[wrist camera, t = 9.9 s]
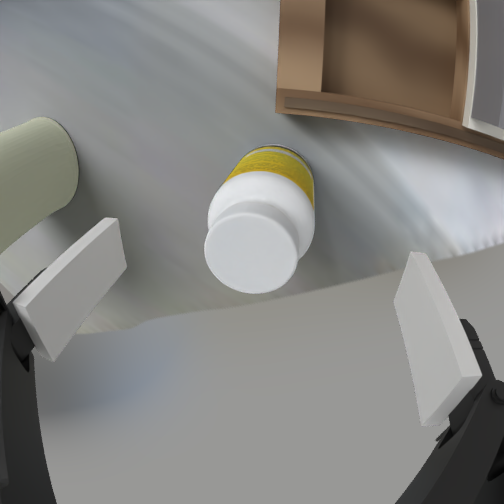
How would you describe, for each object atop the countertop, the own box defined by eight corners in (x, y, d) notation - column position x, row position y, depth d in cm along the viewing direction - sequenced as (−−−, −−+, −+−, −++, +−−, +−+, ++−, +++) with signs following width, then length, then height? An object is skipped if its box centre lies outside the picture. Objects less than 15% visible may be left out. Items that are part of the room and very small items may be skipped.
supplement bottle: (232, 144, 20) (178, 196, 12) (313, 142, 19) (319, 195, 11) (238, 216, 23) (199, 303, 15) (313, 216, 22) (314, 309, 14)
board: (285, -72, 11) (282, -87, 9) (551, 19, 8) (568, 19, 6) (278, 109, 18) (274, 113, 16) (539, 170, 16) (555, 180, 14)
